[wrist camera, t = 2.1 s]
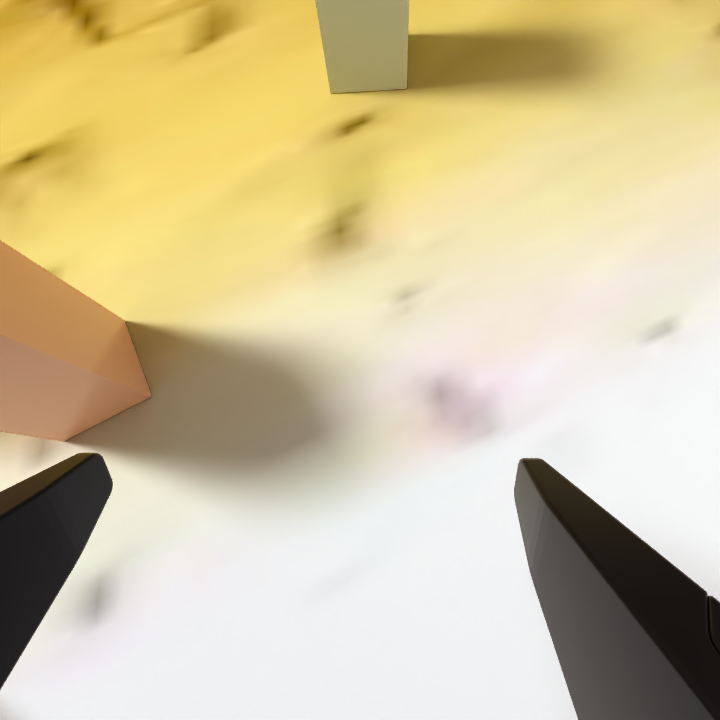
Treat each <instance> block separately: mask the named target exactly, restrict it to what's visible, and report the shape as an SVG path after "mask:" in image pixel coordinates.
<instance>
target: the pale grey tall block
mask: <svg viewBox="0 0 720 720" xmlns="http://www.w3.org/2000/svg"><path fill="white" fill-rule="evenodd" d="M315 1H316V7H317V13H318V19H319V25H320V31H321V37H322V43H323V49H324V56H325V62H326V68H327V74H328V80H329V86H330V92H331V93H345V92H362V91H378V90H395V89H407V63H408V23H409V0H315Z"/></svg>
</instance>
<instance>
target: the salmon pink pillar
mask: <svg viewBox="0 0 720 720" xmlns="http://www.w3.org/2000/svg"><path fill="white" fill-rule="evenodd" d="M151 396H152V395H151V392H150V390H149V387H148V384H147V381H146V378H145V376H144V373H143V370H142V367H141V364H140V362H139V359H138V356H137V353H136V351H135V348H134V345H133V342H132V339H131V337H130V334H129V331H128V328H127V326H126V323H125V320H123V319H122V318H120V317H119V316H117V315H116V314H114V313H112V312H111V311H109V310H108V309H106V308H105V307H103V306H102V305H100V304H98V303H97V302H95V301H94V300H92V299H91V298H89V297H88V296H86V295H84V294H83V293H81V292H80V291H78V290H77V289H75V288H74V287H72V286H70V285H69V284H67V283H66V282H64V281H63V280H61V279H60V278H58V277H56V276H55V275H53V274H52V273H50V272H49V271H47V270H46V269H44V268H42V267H41V266H39V265H38V264H36V263H35V262H33V261H32V260H30V259H28V258H27V257H25V256H24V255H22V254H21V253H19V252H18V251H16V250H14V249H13V248H11V247H10V246H8V245H7V244H5V243H4V242H2V241H0V431H1V432H8V433H14V434H20V435H26V436H32V437H39V438H45V439H51V440H57V441H63V442H64V441H65V440H67V439H69V438H71V437H73V436H75V435H77V434H79V433H81V432H83V431H85V430H87V429H89V428H91V427H93V426H95V425H97V424H99V423H101V422H103V421H105V420H106V419H108V418H110V417H112V416H114V415H116V414H118V413H120V412H122V411H124V410H126V409H128V408H130V407H132V406H134V405H136V404H138V403H140V402H142V401H144V400H146V399H147V398H149V397H151Z"/></svg>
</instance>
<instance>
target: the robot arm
mask: <svg viewBox="0 0 720 720" xmlns="http://www.w3.org/2000/svg"><path fill="white" fill-rule="evenodd" d="M112 487H113V482H112V478H111V476H110V474H109V471H108V469H107V466H106V464H105V461H104V459H103V457H102V456H101V455H100V454H98V453H78V454H76V455H74V456H72V457H70V458H68V459H66V460H64V461H62V462H60V463H58V464H56V465H54V466H52V467H50V468H48V469H46V470H44V471H42V472H40V473H38V474H36V475H34V476H32V477H30V478H28V479H26V480H24V481H22V482H20V483H18V484H16V485H14V486H12V487H9V488H7V489H5V490H3V491H1V492H0V690H1V688H2V686H3V685H4V683H5V681H6V680H7V678H8V676H9V675H10V673H11V671H12V670H13V668H14V666H15V665H16V663H17V661H18V660H19V658H20V656H21V655H22V653H23V651H24V650H25V648H26V646H27V645H28V643H29V641H30V640H31V638H32V636H33V635H34V633H35V631H36V630H37V628H38V626H39V625H40V623H41V621H42V620H43V618H44V616H45V615H46V613H47V611H48V610H49V608H50V606H51V605H52V603H53V601H54V600H55V598H56V596H57V595H58V593H59V591H60V590H61V588H62V586H63V585H64V583H65V581H66V580H67V578H68V576H69V575H70V573H71V571H72V570H73V568H74V566H75V564H76V563H77V561H78V559H79V557H80V555H81V554H82V552H83V550H84V548H85V546H86V544H87V542H88V539H89V537H90V535H91V533H92V531H93V529H94V527H95V525H96V523H97V521H98V519H99V517H100V515H101V513H102V511H103V508H104V506H105V504H106V502H107V500H108V498H109V496H110V494H111V492H112ZM514 497H515V503H516V508H517V513H518V518H519V522H520V527H521V532H522V537H523V541H524V546H525V551H526V556H527V561H528V565H529V569H530V573H531V577H532V580H533V583H534V587H535V590H536V593H537V596H538V599H539V602H540V605H541V608H542V611H543V614H544V617H545V620H546V623H547V626H548V629H549V632H550V635H551V638H552V641H553V644H554V647H555V650H556V653H557V656H558V659H559V662H560V665H561V668H562V671H563V675H564V678H565V681H566V684H567V687H568V690H569V693H570V696H571V699H572V702H573V705H574V708H575V711H576V714H577V717H578V720H720V602H719V601H718V600H717V599H715V598H714V597H713V596H708V595H707V592H706V591H705V590H704V589H703V588H701V587H700V586H699V585H698V584H696V583H695V582H694V581H693V580H692V579H690V578H689V577H688V576H687V575H685V574H684V573H683V572H682V571H680V570H679V569H678V568H677V567H675V566H674V565H673V564H672V563H670V562H669V561H668V560H667V559H665V558H664V557H663V556H662V555H661V554H659V553H658V552H657V551H656V550H654V549H653V548H652V547H651V546H649V545H648V544H647V543H646V542H644V541H643V540H642V539H641V538H639V537H638V536H637V535H636V534H635V533H633V532H632V531H631V530H630V529H628V528H627V527H626V526H625V525H623V524H622V523H621V522H620V521H618V520H617V519H616V518H615V517H613V516H612V515H611V514H610V513H608V512H607V511H606V510H605V509H604V508H602V507H601V506H600V505H599V504H597V503H596V502H595V501H594V500H592V499H591V498H590V497H589V496H587V495H586V494H585V493H584V492H582V491H581V490H580V489H579V488H578V487H576V486H575V485H574V484H573V483H571V482H570V481H569V480H568V479H566V478H565V477H564V476H563V475H561V474H560V473H559V472H558V471H556V470H555V469H554V468H553V467H551V466H550V465H549V464H548V463H547V462H545V461H544V460H542V459H539V458H522V459H521V460H520V461H519V464H518V469H517V475H516V481H515V487H514Z"/></svg>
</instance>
